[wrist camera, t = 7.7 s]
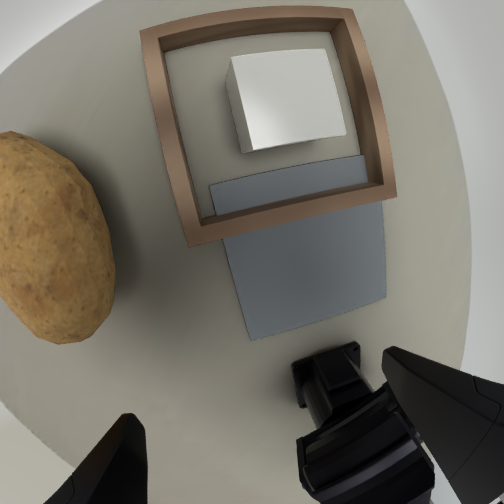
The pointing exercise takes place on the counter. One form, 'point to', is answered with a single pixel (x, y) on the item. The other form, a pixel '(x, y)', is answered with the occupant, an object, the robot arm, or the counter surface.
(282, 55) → the white cube
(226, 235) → the bin
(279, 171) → the mat
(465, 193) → the counter surface
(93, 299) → the potato
